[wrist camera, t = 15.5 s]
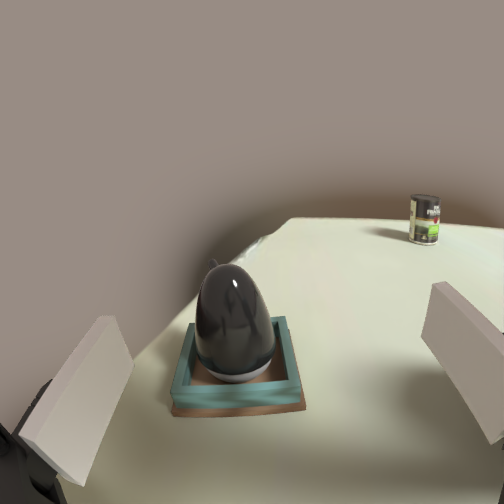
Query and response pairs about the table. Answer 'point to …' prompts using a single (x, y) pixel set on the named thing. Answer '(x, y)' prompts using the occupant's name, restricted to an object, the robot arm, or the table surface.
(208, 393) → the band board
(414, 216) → the coffee can
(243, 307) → the dark grey glossy oval
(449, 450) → the table surface
